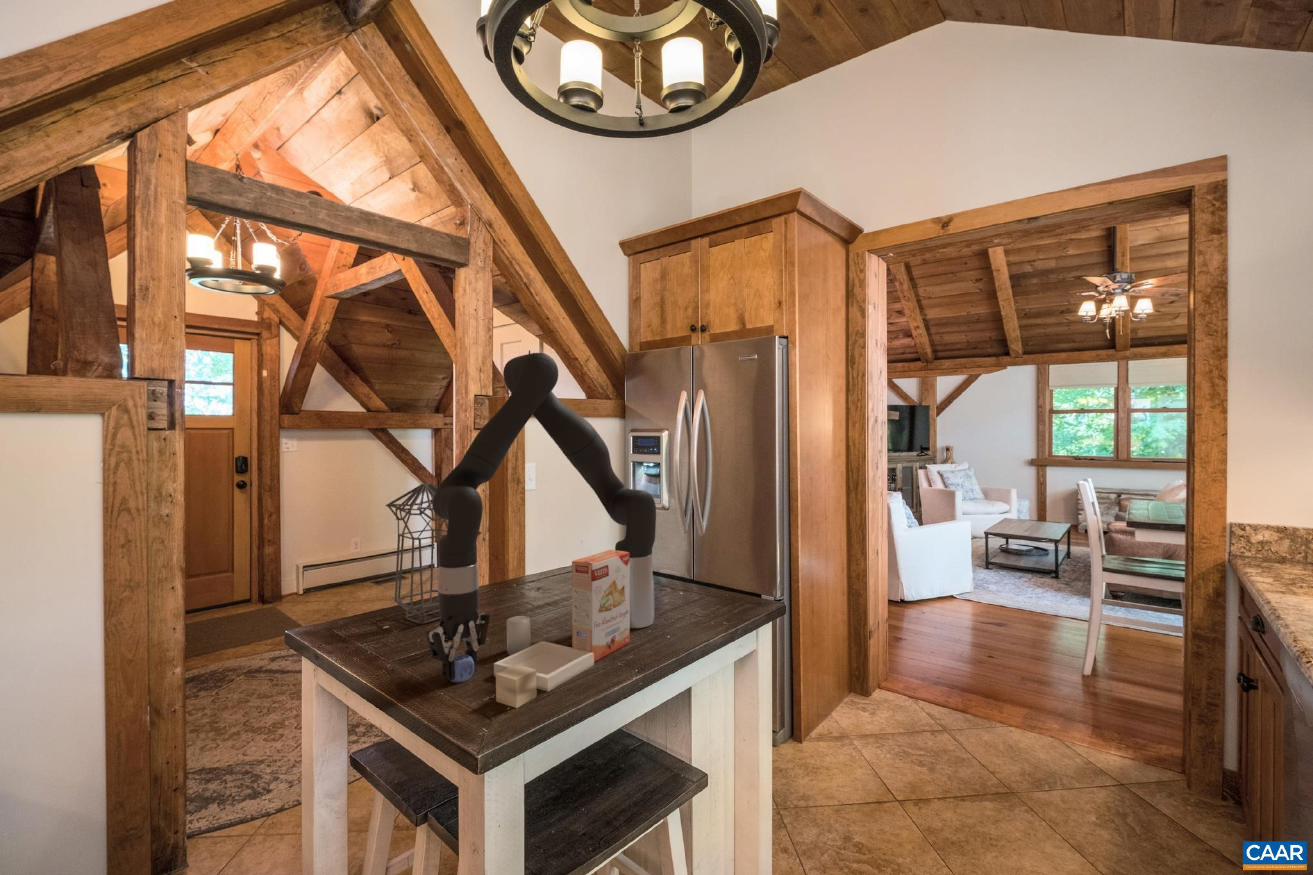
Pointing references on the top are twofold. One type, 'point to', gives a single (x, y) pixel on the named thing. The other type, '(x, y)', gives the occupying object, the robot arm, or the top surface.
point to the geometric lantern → (415, 491)
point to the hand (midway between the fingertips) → (460, 673)
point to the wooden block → (516, 685)
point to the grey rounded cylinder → (518, 634)
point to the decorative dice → (463, 668)
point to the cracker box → (601, 602)
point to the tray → (549, 663)
